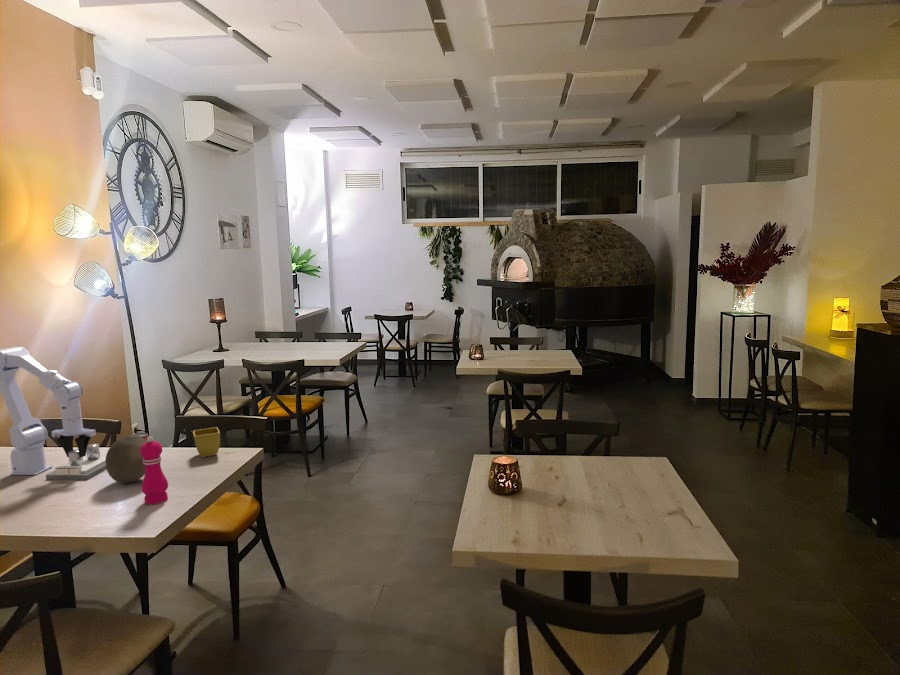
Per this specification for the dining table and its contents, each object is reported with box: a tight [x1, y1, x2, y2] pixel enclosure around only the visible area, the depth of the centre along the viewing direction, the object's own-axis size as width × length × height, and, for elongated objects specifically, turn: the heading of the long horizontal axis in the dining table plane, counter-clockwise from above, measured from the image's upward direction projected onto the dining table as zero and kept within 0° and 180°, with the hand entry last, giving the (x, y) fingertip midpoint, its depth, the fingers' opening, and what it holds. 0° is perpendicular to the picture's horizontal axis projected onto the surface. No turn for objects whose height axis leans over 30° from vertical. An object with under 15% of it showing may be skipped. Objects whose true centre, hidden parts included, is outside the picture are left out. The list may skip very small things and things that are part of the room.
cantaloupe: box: [105, 435, 147, 484], centre depth 195 cm, size 14×14×15 cm
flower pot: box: [192, 426, 221, 458], centre depth 220 cm, size 9×9×9 cm
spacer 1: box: [68, 448, 83, 466], centre depth 204 cm, size 4×4×5 cm
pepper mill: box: [140, 436, 169, 505], centre depth 179 cm, size 7×7×20 cm
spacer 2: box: [86, 443, 101, 461], centre depth 212 cm, size 4×4×5 cm
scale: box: [45, 456, 107, 480], centre depth 208 cm, size 15×17×4 cm
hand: (76, 456), depth 204 cm, fingers closed on spacer 1, 4 cm apart
